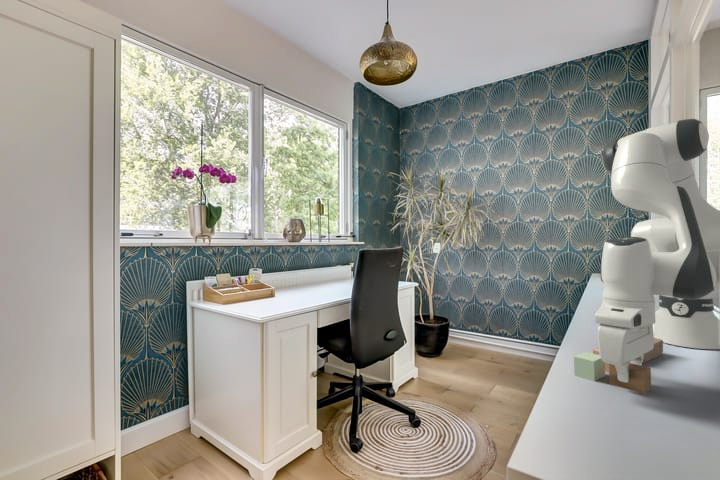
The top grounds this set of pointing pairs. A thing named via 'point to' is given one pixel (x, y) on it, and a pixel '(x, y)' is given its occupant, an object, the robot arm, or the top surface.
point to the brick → (654, 350)
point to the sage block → (589, 366)
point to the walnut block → (633, 378)
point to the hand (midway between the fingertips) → (629, 377)
